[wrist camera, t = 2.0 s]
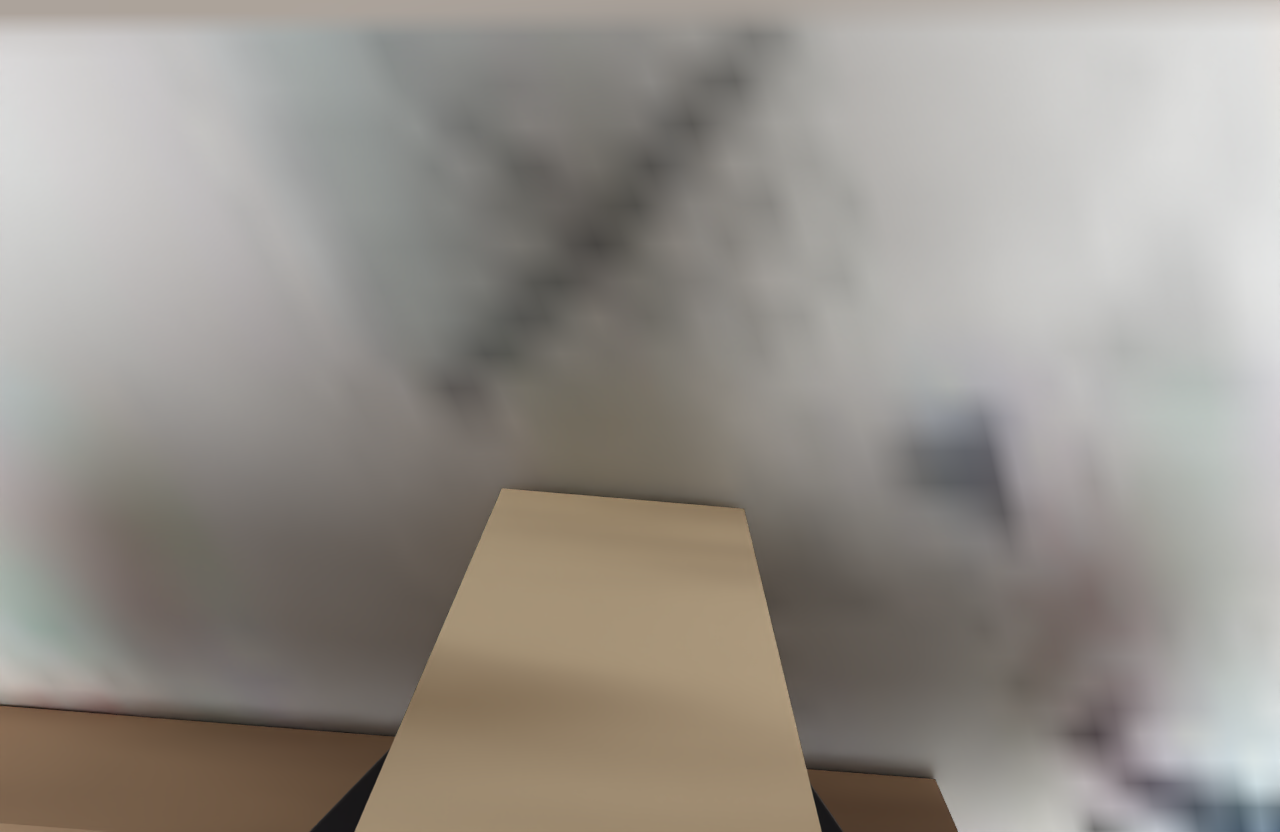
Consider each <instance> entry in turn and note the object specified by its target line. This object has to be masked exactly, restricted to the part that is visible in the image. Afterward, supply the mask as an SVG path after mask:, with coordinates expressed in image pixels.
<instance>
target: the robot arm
mask: <svg viewBox="0 0 1280 832" xmlns="http://www.w3.org/2000/svg"><path fill="white" fill-rule="evenodd" d="M389 750H390V749H389ZM389 750H388V751H387V752H386V753H385V754H384V755H383V756H382V757H381V758H380V759H379V760H378V761H377V762H376V763H375V764H374V765H373V766H372V767H371V768H370V769H369V770H368V771H367V772H366V773H365V774H364V775H363V776H362V778H361V779H360V780H359V781H358V782H357V783H356V784H355V785H354V786H353V787H352V788H351V789H350V790H349V791H348V792H347V793H346V794H345V795H344V796H343V797H342V798H341V799H340V800H339V801H338V802H337V803H336V804H335V805H334V806H333V807H332V808H331V810H330V811H329V812H328V813H327V814H326V815H325V816H324V817H323V818H322V819H321V820H320V821H319V822H318V823H317V824H316V825H315V826H314V827H313V828H312V829H311V830H310V831H309V832H355V829H356V827H357V825H358V823H359V820H360V818H361V816H362V813H363V811H364V809H365V806H366V804H367V802H368V799H369V797H370V795H371V792H372V790H373V788H374V785H375V783H376V781H377V778H378V776H379V774H380V771H381V769H382V767H383V764H384V762H385V760H386V757H387V755H388V753H389ZM810 786H811V790H812V794H813V798H814V802H815V806H816V811H817V815H818V819H819V823H820V827H821V831H822V832H844V831H843V830H842V829H841V827H840V826H839V824H838V823H837V821H836V820H835V818H834V817H833V815H832V814H831V812H830V811H829V810H828V808H827V807H826V805H825V804H824V802H823V801H822V799H821V798H820V796H819V795H818V794H817V792H816V791H815V789H814V788H813V786H812V785H811V783H810Z"/></svg>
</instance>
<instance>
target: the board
mask: <svg viewBox="0 0 1280 832" xmlns="http://www.w3.org/2000/svg"><path fill="white" fill-rule="evenodd" d="M394 739H395V737H391V736H378V735H365V734H353V733H340V732H327V731H314V730H302V729H289V728H276V727H263V726H251V725H238V724H225V723H212V722H200V721H187V720H174V719H161V718H149V717H136V716H123V715H110V714H98V713H85V712H72V711H59V710H47V709H34V708H21V707H8V706H0V832H309V831H310V830H311V829H312V828H313V827H314V826H315V825H316V824H317V823H318V822H319V821H320V820H321V819H322V818H323V817H324V816H325V815H326V814H327V813H328V812H329V811H330V810H331V808H332V807H333V806H334V805H335V804H336V803H337V802H338V801H339V800H340V799H341V798H342V797H343V796H344V795H345V794H346V793H347V792H348V791H349V790H350V789H351V788H352V787H353V786H354V785H355V784H356V783H357V782H358V781H359V780H360V779H361V778H362V776H363V775H364V774H365V773H366V772H367V771H368V770H369V769H370V768H371V767H372V766H373V765H374V764H375V763H376V762H377V761H378V760H379V759H380V758H381V757H382V756H383V755H384V754H385V753H386V752H387V751H388V750H389V749H390V748H391V746H392V743H393V741H394ZM807 773H808V777H809V781H810V783H811V785H812V786H813V788H814V789H815V791H816V792H817V794H818V795H819V796H820V798H821V799H822V801H823V802H824V804H825V805H826V807H827V808H828V810H829V811H830V812H831V814H832V815H833V817H834V818H835V820H836V821H837V823H838V824H839V826H840V827H841V829H842V830H843V831H844V832H958V831H957V828H956V826H955V824H954V821H953V819H952V817H951V814H950V812H949V810H948V808H947V805H946V803H945V801H944V798H943V796H942V794H941V791H940V789H939V787H938V785H937V782H936V780H935V779H927V778H914V777H901V776H888V775H876V774H863V773H850V772H837V771H825V770H812V769H807Z"/></svg>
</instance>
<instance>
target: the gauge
mask: <svg viewBox="0 0 1280 832" xmlns="http://www.w3.org/2000/svg"><path fill="white" fill-rule="evenodd" d="M355 832H822V831H821V827H820V823H819V819H818V815H817V811H816V806H815V802H814V798H813V794H812V790H811V786H810V781H809V777H808V773H807V769H806V765H805V761H804V756H803V752H802V748H801V744H800V740H799V736H798V731H797V727H796V723H795V719H794V715H793V711H792V706H791V702H790V698H789V694H788V690H787V686H786V681H785V677H784V673H783V669H782V665H781V661H780V656H779V652H778V648H777V644H776V640H775V636H774V631H773V627H772V623H771V619H770V615H769V611H768V606H767V602H766V598H765V594H764V590H763V586H762V581H761V577H760V573H759V569H758V565H757V561H756V556H755V552H754V548H753V544H752V540H751V536H750V531H749V527H748V523H747V519H746V515H745V511H744V509H741V508H729V507H717V506H705V505H694V504H682V503H670V502H658V501H646V500H634V499H623V498H611V497H599V496H587V495H575V494H563V493H552V492H540V491H528V490H516V489H504V488H502V489H501V492H500V494H499V496H498V499H497V501H496V503H495V506H494V508H493V510H492V513H491V515H490V517H489V520H488V522H487V524H486V527H485V529H484V531H483V534H482V536H481V538H480V541H479V543H478V545H477V548H476V550H475V552H474V555H473V557H472V559H471V562H470V564H469V566H468V569H467V571H466V573H465V575H464V578H463V580H462V582H461V585H460V587H459V589H458V592H457V594H456V596H455V599H454V601H453V603H452V606H451V608H450V610H449V613H448V615H447V617H446V620H445V622H444V624H443V627H442V629H441V631H440V634H439V636H438V638H437V641H436V643H435V645H434V648H433V650H432V652H431V655H430V657H429V659H428V662H427V664H426V666H425V669H424V671H423V673H422V676H421V678H420V680H419V683H418V685H417V687H416V690H415V692H414V694H413V697H412V699H411V701H410V704H409V706H408V708H407V711H406V713H405V715H404V718H403V720H402V722H401V725H400V727H399V729H398V732H397V734H396V736H395V739H394V741H393V743H392V746H391V748H390V750H389V753H388V755H387V757H386V760H385V762H384V764H383V767H382V769H381V771H380V774H379V776H378V778H377V781H376V783H375V785H374V788H373V790H372V792H371V795H370V797H369V799H368V802H367V804H366V806H365V809H364V811H363V813H362V816H361V818H360V820H359V823H358V825H357V827H356V829H355Z"/></svg>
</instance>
